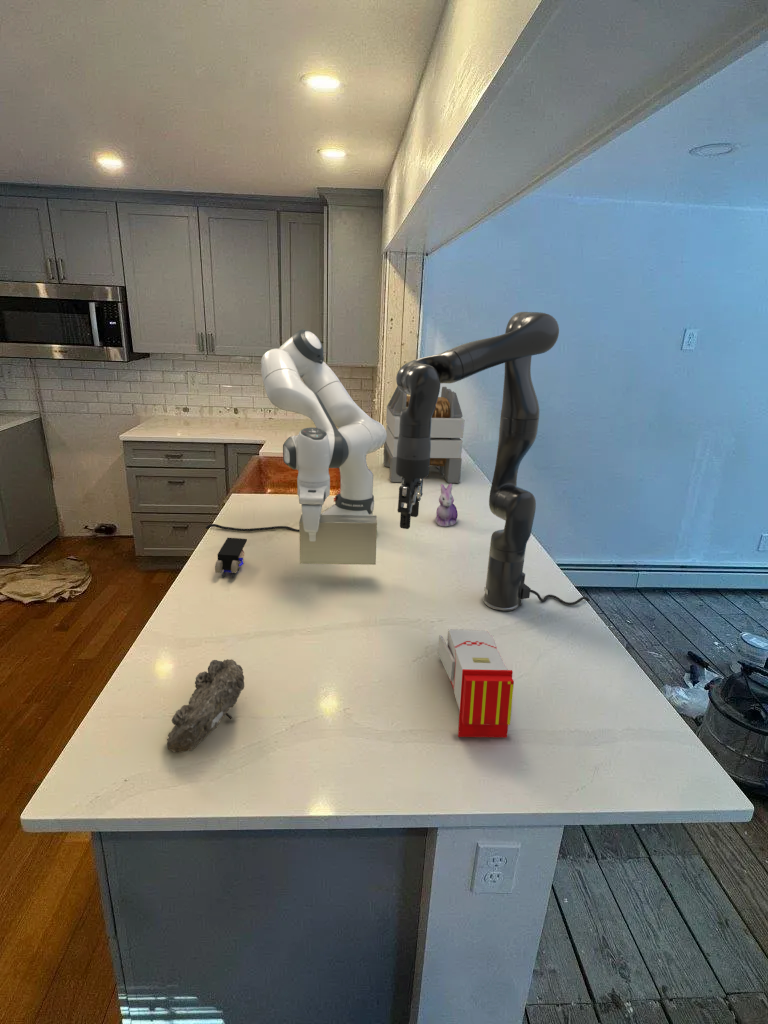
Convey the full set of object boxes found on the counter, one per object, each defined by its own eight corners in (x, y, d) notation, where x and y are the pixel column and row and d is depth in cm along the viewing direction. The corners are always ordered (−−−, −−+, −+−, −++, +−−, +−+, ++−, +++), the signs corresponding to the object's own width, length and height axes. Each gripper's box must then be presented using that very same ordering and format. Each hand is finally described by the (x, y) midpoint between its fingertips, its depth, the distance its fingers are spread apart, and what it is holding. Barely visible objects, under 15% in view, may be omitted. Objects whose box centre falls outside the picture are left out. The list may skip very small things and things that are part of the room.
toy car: (238, 584, 162) (249, 557, 175) (236, 562, 158) (247, 536, 172) (215, 584, 161) (227, 556, 175) (212, 561, 158) (225, 535, 171)
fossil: (192, 660, 117) (244, 628, 112) (224, 691, 120) (276, 661, 115) (142, 746, 98) (202, 712, 93) (182, 779, 101) (242, 748, 96)
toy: (488, 613, 130) (523, 677, 101) (484, 667, 133) (517, 744, 104) (435, 612, 130) (455, 676, 101) (432, 666, 133) (451, 743, 103)
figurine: (442, 528, 206) (446, 489, 201) (428, 519, 214) (431, 481, 209) (464, 525, 210) (468, 486, 205) (449, 516, 218) (452, 479, 213)
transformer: (382, 463, 289) (386, 382, 275) (445, 464, 293) (451, 384, 279) (390, 482, 257) (394, 392, 243) (460, 483, 261) (468, 394, 247)
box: (299, 563, 159) (299, 521, 155) (301, 554, 165) (301, 514, 160) (375, 564, 160) (377, 523, 156) (375, 555, 166) (376, 515, 161)
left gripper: (305, 477, 164) (305, 521, 169) (298, 500, 145) (298, 549, 150) (327, 478, 165) (326, 522, 169) (323, 500, 145) (322, 550, 150)
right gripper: (423, 464, 120) (418, 535, 125) (435, 449, 133) (431, 514, 138) (388, 460, 122) (385, 530, 127) (404, 446, 135) (401, 510, 140)
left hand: (313, 535), depth 159 cm, fingers closed on box, 6 cm apart
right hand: (409, 522), depth 133 cm, fingers open, 8 cm apart
